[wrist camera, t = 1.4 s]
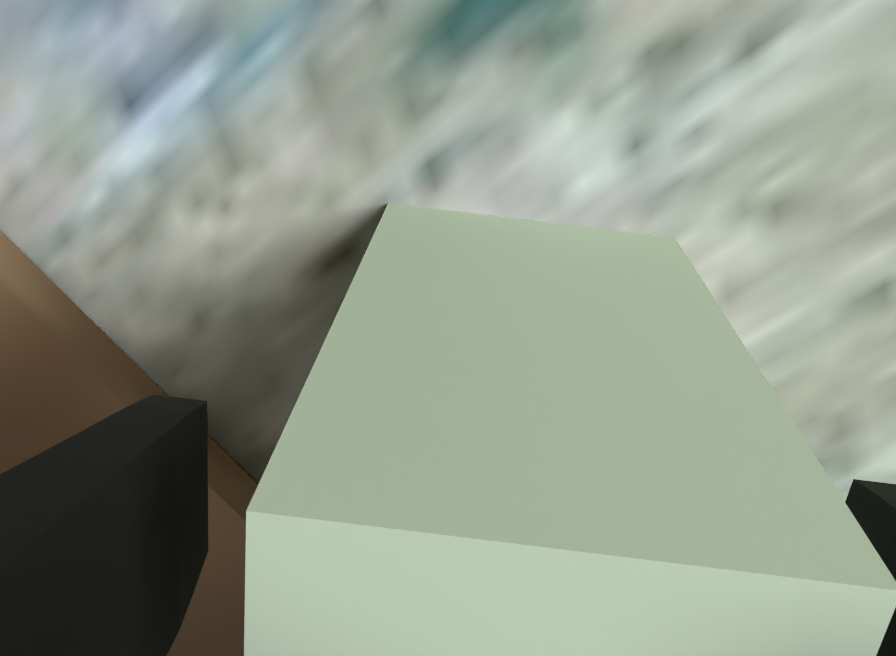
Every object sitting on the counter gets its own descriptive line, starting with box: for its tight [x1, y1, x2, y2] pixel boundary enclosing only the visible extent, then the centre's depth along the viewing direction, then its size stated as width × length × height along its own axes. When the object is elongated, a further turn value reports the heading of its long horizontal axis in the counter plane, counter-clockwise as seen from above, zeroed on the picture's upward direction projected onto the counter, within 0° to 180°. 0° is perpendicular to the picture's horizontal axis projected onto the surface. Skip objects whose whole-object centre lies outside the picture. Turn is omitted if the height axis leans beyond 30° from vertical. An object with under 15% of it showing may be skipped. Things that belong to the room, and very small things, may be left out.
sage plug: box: [244, 203, 896, 656], centre depth 10 cm, size 4×4×8 cm
